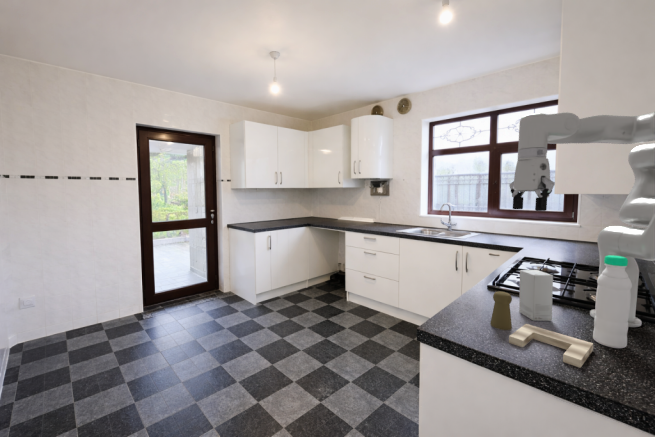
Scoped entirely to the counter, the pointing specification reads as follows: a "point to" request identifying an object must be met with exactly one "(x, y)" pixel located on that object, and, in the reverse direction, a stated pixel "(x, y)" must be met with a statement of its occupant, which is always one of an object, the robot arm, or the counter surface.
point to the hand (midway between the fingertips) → (528, 209)
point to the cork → (501, 311)
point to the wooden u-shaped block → (554, 343)
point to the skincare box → (536, 295)
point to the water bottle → (612, 303)
